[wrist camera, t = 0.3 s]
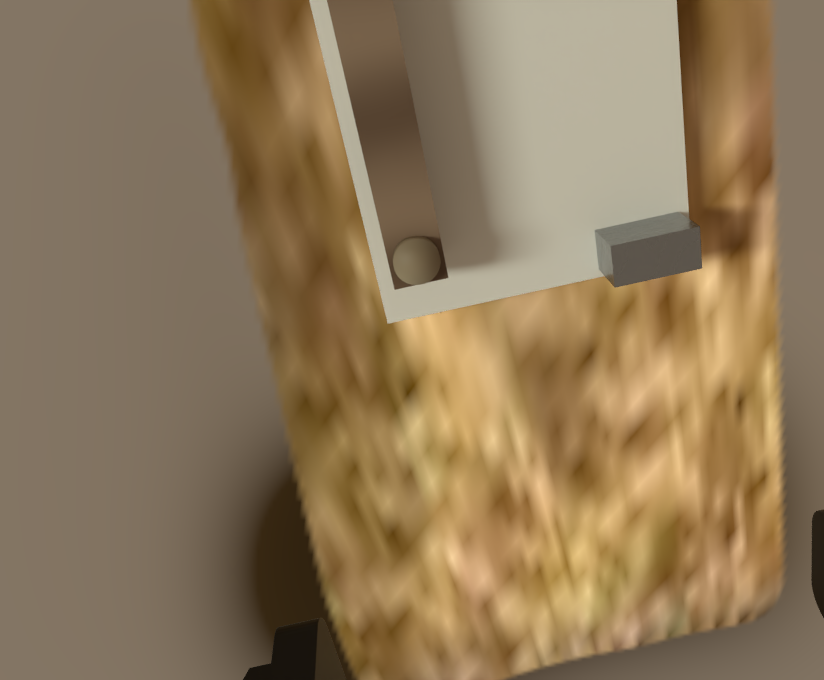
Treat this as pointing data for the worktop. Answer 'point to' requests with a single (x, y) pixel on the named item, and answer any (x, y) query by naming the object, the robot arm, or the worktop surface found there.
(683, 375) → the worktop surface
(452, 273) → the stool seat
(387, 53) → the folding leg
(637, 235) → the leg stop
